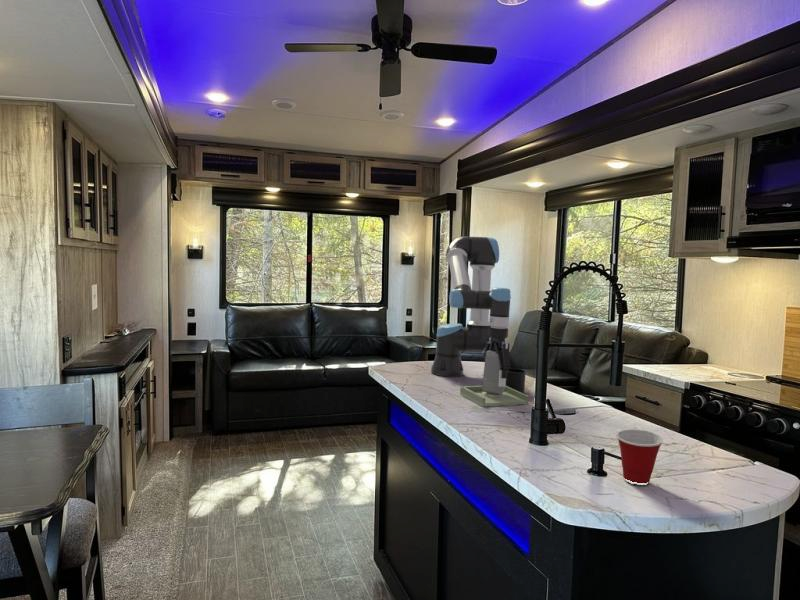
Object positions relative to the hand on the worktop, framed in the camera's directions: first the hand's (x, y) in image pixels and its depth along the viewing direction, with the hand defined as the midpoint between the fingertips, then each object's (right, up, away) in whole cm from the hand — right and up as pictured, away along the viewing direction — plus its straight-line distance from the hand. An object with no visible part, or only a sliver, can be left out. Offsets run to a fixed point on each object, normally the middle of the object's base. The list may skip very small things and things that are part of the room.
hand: (494, 383), depth 212 cm
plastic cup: (+22, -13, -78) cm, 82 cm away
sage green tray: (-1, -6, -3) cm, 7 cm away
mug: (+9, -5, +12) cm, 16 cm away
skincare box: (0, -3, 0) cm, 3 cm away
